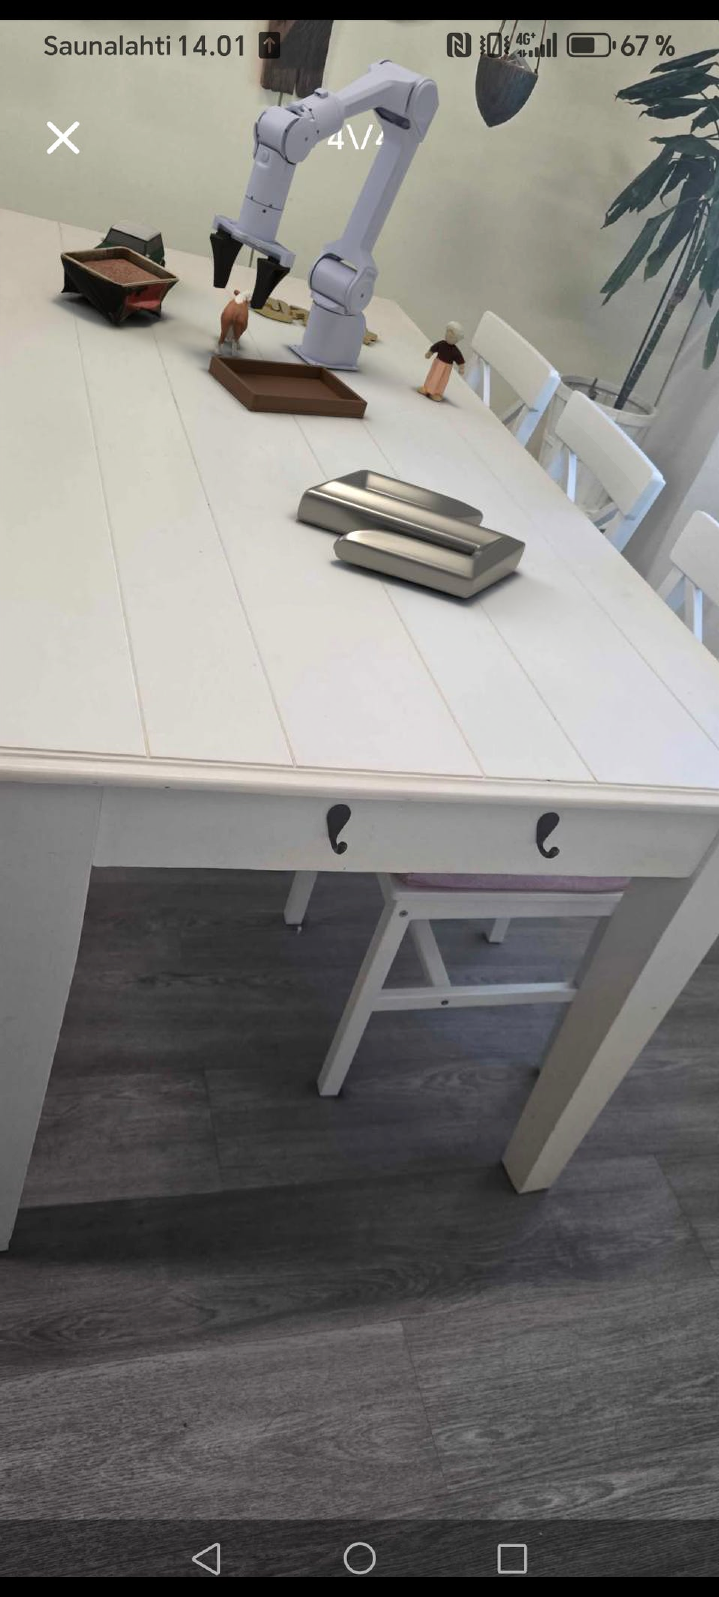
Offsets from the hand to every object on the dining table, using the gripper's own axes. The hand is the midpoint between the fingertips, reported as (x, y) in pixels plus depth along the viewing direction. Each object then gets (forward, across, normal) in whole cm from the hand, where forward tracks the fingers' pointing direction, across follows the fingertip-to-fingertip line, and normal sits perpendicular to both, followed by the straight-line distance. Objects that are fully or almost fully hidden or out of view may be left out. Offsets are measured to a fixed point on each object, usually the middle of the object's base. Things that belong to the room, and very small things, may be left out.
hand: (237, 297), depth 181 cm
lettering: (+8, -13, +39) cm, 42 cm away
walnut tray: (+10, +11, +4) cm, 15 cm away
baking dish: (+11, -22, -2) cm, 25 cm away
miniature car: (+10, -35, +14) cm, 39 cm away
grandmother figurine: (+8, +17, +36) cm, 40 cm away
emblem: (+12, +51, -18) cm, 55 cm away
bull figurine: (+10, -6, +9) cm, 15 cm away
